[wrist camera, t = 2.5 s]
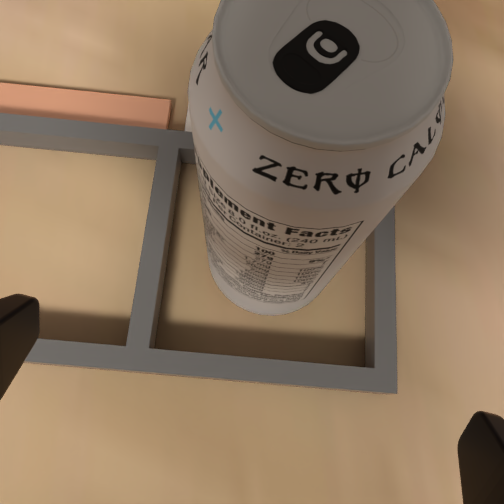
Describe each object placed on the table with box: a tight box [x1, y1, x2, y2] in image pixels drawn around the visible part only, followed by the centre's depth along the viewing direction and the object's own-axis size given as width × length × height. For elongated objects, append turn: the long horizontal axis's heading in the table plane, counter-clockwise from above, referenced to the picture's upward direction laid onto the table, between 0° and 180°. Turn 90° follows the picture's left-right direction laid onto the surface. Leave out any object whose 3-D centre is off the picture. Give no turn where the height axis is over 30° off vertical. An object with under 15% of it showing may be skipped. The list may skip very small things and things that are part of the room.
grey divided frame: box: [0, 83, 397, 394], centre depth 23 cm, size 23×14×2 cm, turn 85°
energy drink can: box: [188, 0, 453, 316], centre depth 16 cm, size 6×6×15 cm
